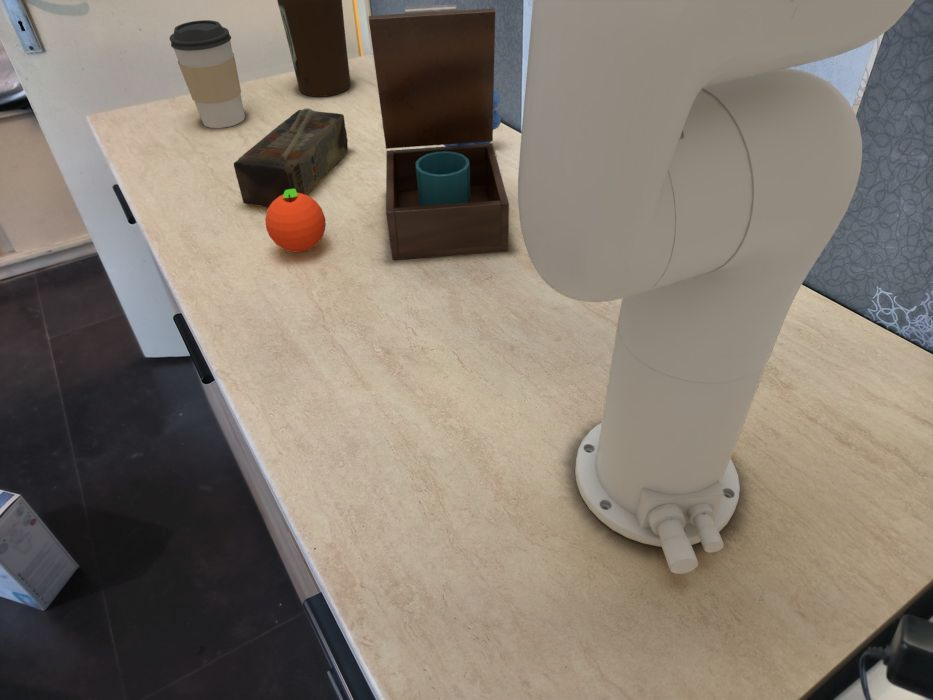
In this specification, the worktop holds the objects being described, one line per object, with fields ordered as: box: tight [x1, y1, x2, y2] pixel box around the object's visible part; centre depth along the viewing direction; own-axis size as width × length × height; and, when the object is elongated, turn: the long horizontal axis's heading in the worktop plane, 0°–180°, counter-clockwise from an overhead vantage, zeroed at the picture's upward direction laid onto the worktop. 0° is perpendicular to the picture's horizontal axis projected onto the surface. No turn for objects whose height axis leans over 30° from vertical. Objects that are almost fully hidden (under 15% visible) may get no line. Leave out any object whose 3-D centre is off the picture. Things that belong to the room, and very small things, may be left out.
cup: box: [416, 151, 471, 206], centre depth 80 cm, size 6×6×7 cm
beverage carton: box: [233, 107, 349, 208], centre depth 91 cm, size 8×19×7 cm, turn 164°
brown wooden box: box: [385, 142, 510, 261], centre depth 81 cm, size 16×14×6 cm
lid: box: [368, 3, 496, 150], centre depth 79 cm, size 17×14×6 cm
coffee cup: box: [169, 19, 246, 129], centre depth 104 cm, size 9×9×15 cm
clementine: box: [265, 189, 327, 253], centre depth 77 cm, size 8×7×7 cm
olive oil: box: [276, 0, 351, 97], centre depth 111 cm, size 11×11×25 cm
